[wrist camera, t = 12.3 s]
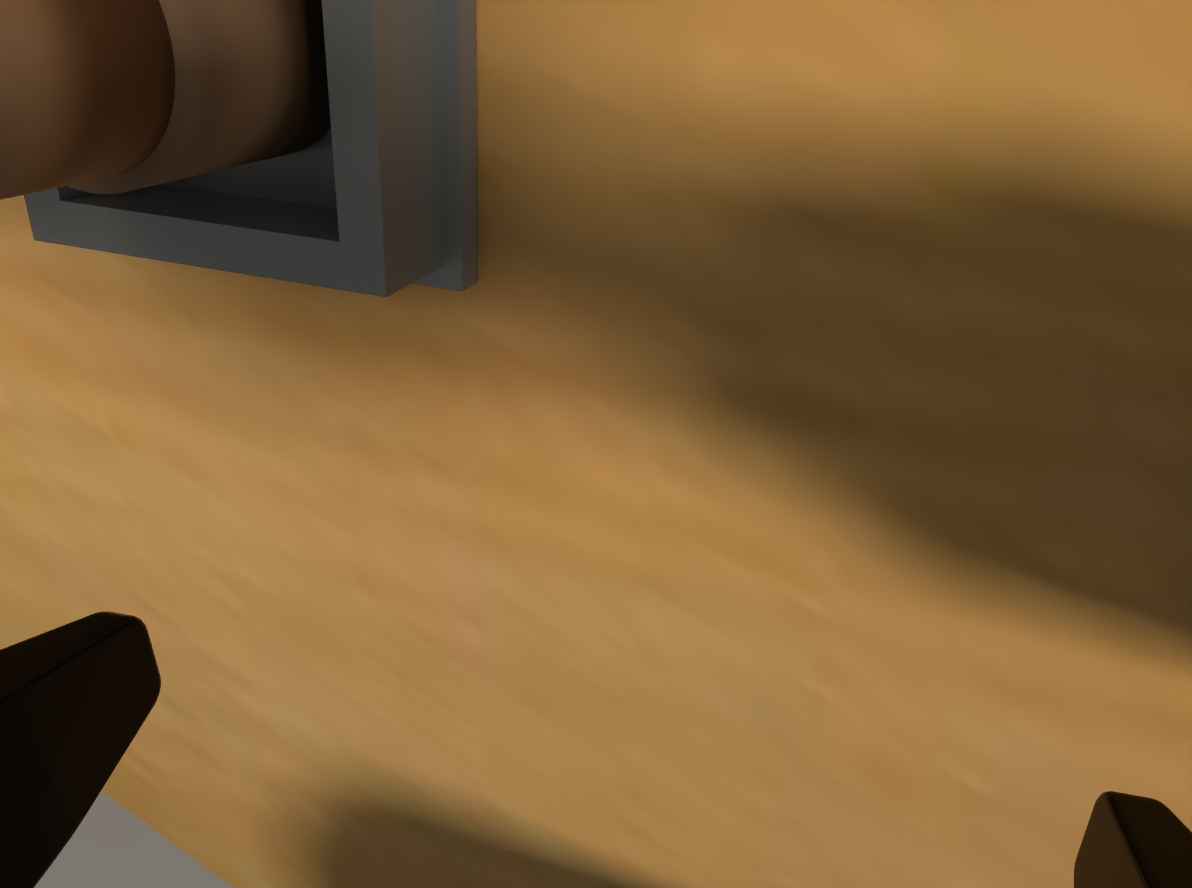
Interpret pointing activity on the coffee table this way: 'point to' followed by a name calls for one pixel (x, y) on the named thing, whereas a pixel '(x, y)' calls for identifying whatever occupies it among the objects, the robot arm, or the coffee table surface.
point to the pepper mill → (154, 89)
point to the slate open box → (328, 172)
